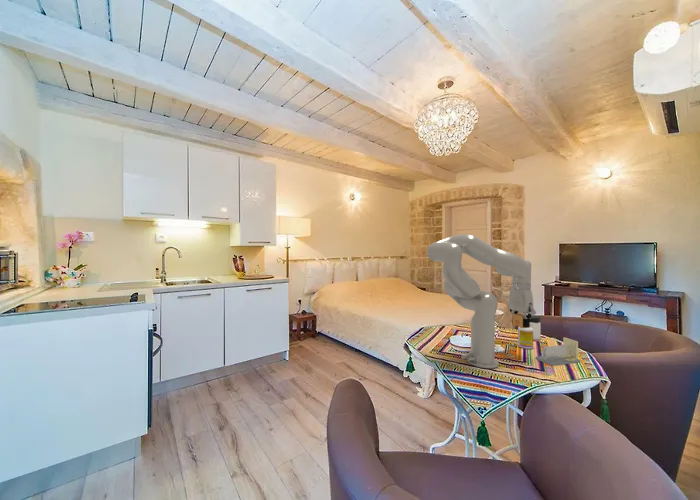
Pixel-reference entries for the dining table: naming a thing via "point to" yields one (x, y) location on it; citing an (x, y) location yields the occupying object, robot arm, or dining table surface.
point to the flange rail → (561, 353)
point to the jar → (536, 327)
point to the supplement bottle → (525, 337)
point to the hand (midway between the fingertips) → (520, 325)
